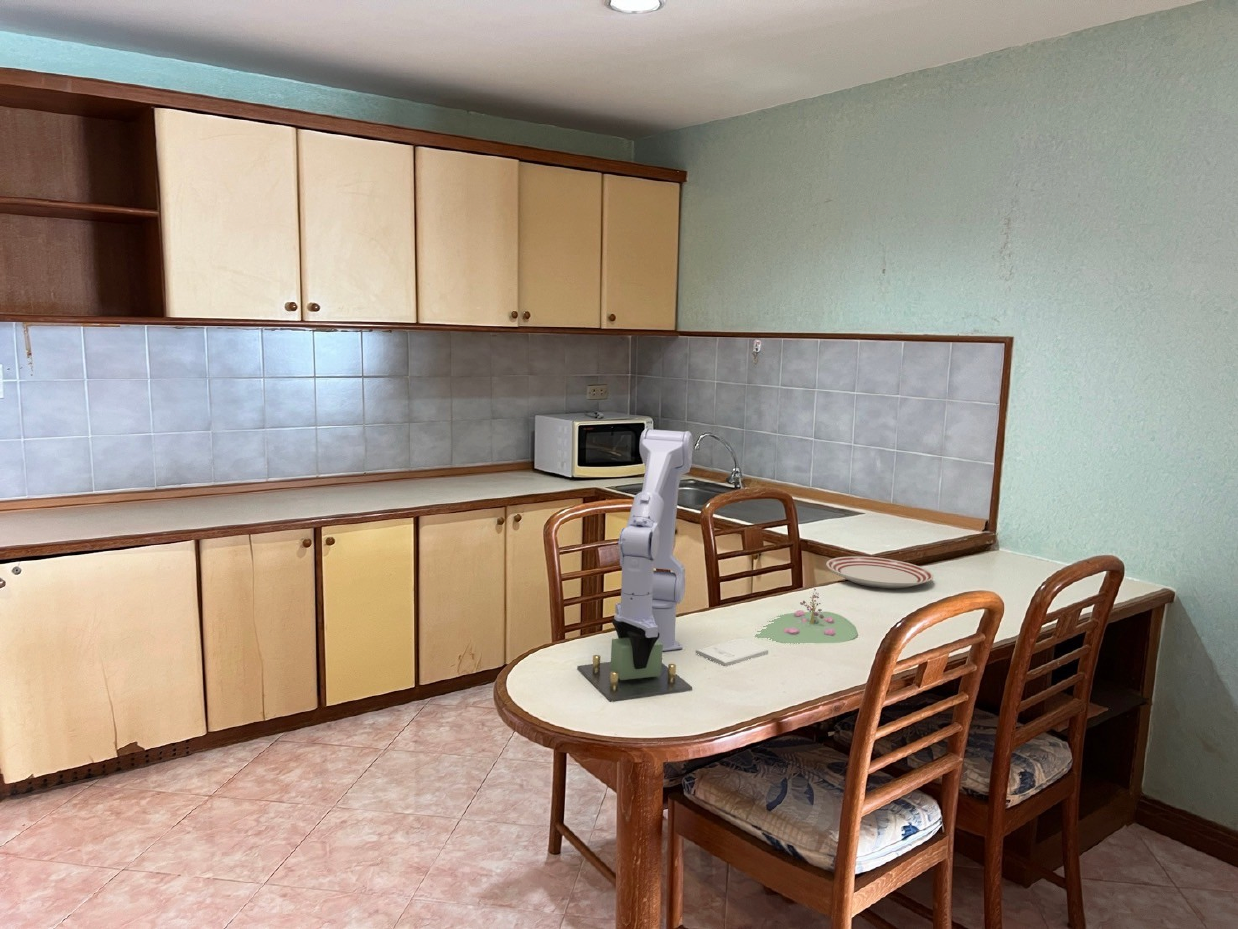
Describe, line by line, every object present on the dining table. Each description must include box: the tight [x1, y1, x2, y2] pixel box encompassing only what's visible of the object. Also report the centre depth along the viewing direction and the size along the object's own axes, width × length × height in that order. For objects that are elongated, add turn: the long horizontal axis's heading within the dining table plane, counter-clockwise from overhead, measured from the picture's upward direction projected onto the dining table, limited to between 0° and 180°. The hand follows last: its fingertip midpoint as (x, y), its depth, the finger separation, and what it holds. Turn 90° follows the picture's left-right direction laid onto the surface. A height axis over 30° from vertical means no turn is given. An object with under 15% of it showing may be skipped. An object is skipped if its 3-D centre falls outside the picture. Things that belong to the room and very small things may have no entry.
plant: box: [754, 588, 859, 645], centre depth 199 cm, size 25×21×9 cm
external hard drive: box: [695, 637, 769, 667], centre depth 184 cm, size 2×8×12 cm
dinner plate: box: [825, 556, 934, 589], centre depth 243 cm, size 27×27×3 cm
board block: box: [610, 637, 663, 680], centre depth 168 cm, size 5×8×6 cm, turn 113°
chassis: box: [576, 654, 693, 703], centre depth 168 cm, size 16×16×4 cm
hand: (634, 662), depth 168 cm, fingers closed on board block, 5 cm apart
